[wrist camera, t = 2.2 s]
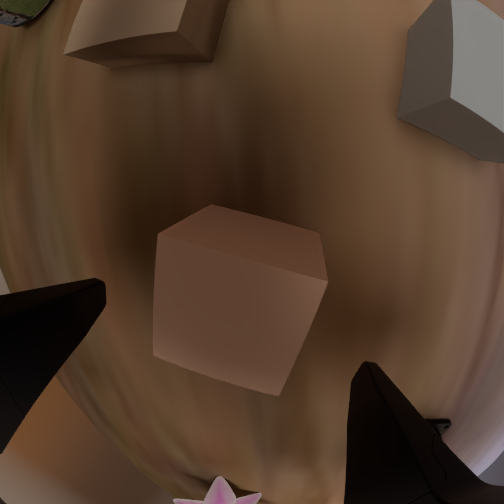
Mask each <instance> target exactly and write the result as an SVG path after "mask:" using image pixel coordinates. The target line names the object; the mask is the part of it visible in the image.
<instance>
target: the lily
mask: <svg viewBox="0 0 504 504" xmlns="http://www.w3.org/2000/svg"><path fill="white" fill-rule="evenodd" d="M261 496H262V493H256V494H252V495H248V496H243V497H240V498H236V496H235V494H234V493H233V491H232V489H231V488H230V486H229V484H228V483H227V481H226V480H225V479H224V478H223V477H221V476H218V477H217V478H216V479H215V480H214V482H213V484H212V486H211V488H210V490H209V492H208V494H207V496H206V497H205V500H204V501H197V500H186V499H173V502H174V503H175V504H256V503H257V502H258V500H259V499H260V497H261Z"/></svg>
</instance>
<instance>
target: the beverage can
mask: <svg viewBox="0 0 504 504" xmlns="http://www.w3.org/2000/svg"><path fill="white" fill-rule="evenodd" d="M49 1H50V0H0V23H1V24H5V25H9V26H12V27H19V26H22V25H24V24H25V23H27V22H28V21H29V20H31V19H32V18H34V17H35V16H36V15H38V14H39V13H40V12H41V11H42V10H43V9H44V8H45V6H46V5H47V4H48V3H49Z"/></svg>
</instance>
